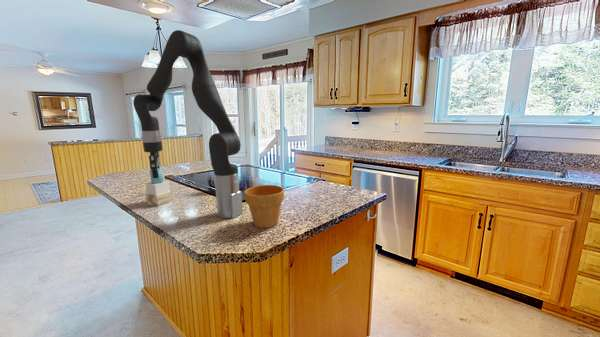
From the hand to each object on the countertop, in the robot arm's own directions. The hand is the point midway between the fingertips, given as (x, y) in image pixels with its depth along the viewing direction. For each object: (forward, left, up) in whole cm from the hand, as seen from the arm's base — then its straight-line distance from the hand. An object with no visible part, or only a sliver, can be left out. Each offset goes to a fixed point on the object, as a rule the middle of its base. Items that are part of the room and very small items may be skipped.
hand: (156, 176), depth 129 cm
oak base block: (0, 0, -13) cm, 13 cm away
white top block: (0, 0, -8) cm, 8 cm away
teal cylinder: (0, 0, -3) cm, 3 cm away
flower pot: (-59, -2, -13) cm, 60 cm away
